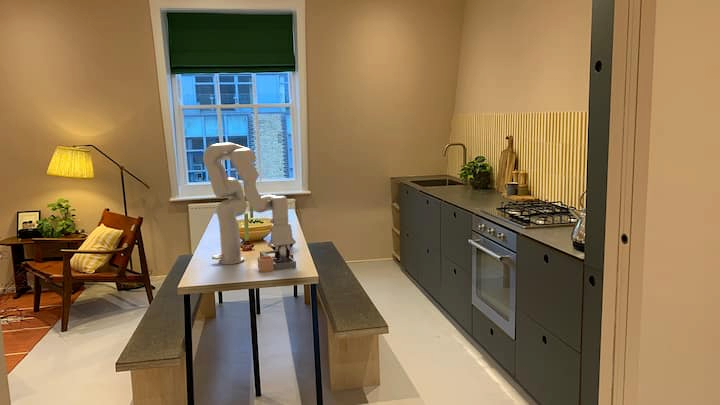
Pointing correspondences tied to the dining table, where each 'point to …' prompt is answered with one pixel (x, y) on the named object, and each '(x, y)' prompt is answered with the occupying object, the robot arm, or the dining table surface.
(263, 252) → the box
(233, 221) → the robot arm
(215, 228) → the dining table surface
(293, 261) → the tray
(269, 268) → the orange open cube box
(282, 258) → the cell
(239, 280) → the dining table surface
